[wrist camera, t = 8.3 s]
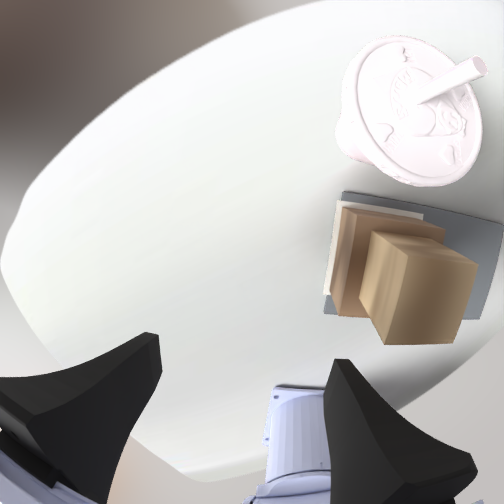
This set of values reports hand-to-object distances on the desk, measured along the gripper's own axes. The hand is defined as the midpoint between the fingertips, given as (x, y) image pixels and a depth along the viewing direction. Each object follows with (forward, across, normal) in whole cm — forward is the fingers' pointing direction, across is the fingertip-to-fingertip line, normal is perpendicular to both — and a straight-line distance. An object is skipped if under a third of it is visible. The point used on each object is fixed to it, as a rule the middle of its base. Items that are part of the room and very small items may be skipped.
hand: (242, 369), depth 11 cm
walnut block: (+10, -8, -3) cm, 13 cm away
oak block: (+6, -8, -3) cm, 10 cm away
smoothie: (+11, -6, -11) cm, 16 cm away
